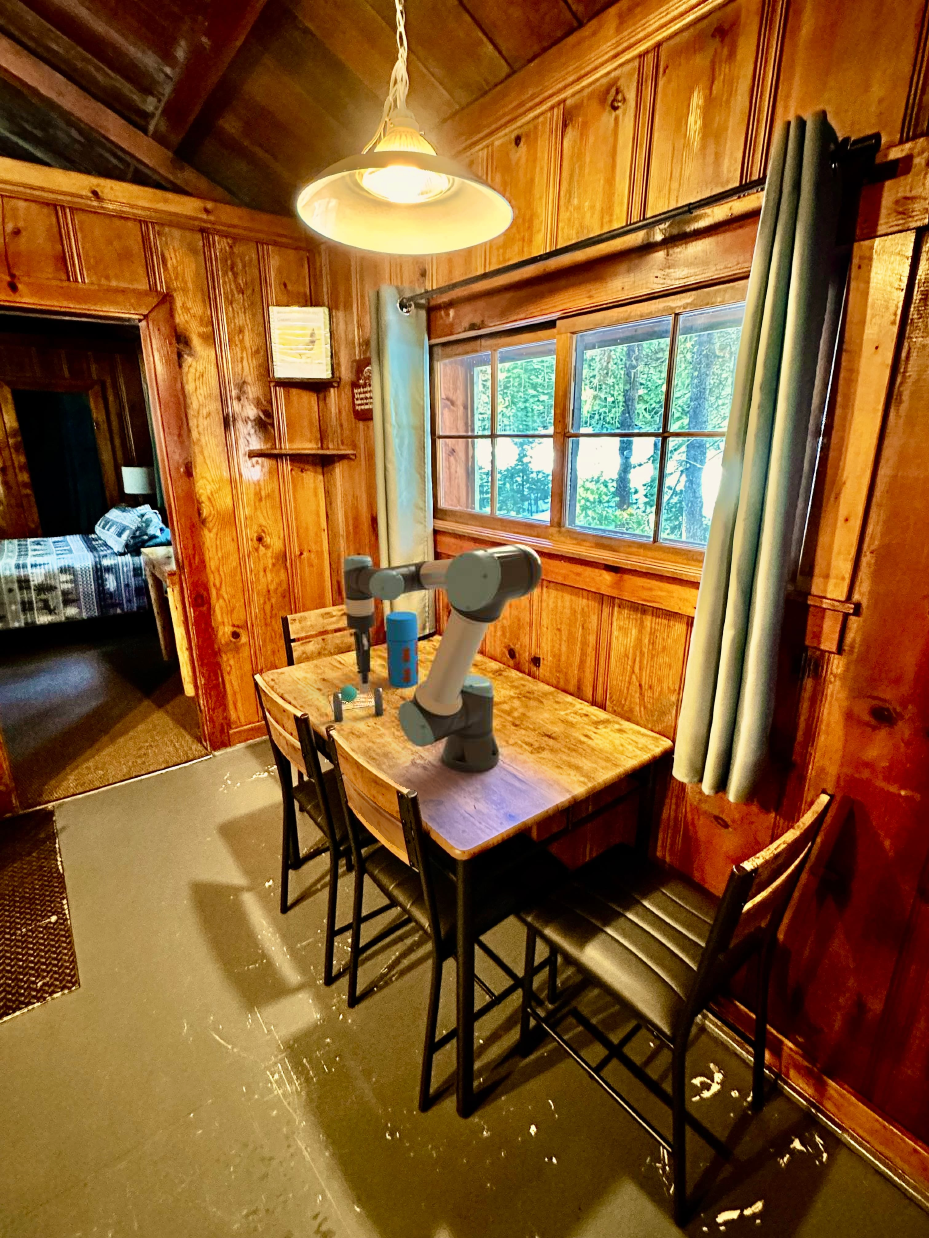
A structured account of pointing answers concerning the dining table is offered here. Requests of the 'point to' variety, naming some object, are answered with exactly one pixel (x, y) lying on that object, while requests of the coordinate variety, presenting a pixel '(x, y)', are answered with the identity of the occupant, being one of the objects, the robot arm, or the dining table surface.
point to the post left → (337, 707)
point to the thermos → (402, 649)
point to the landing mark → (356, 702)
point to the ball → (348, 693)
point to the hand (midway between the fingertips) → (364, 692)
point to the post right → (378, 701)
